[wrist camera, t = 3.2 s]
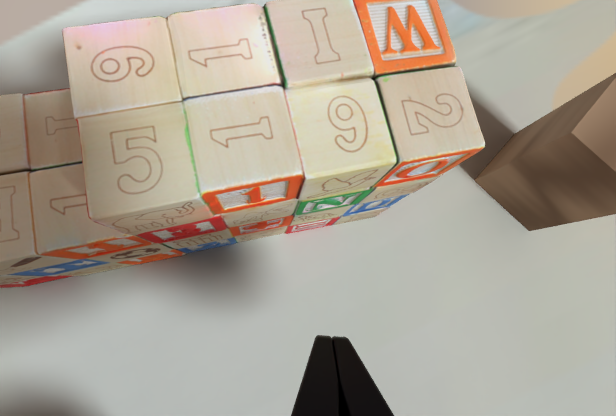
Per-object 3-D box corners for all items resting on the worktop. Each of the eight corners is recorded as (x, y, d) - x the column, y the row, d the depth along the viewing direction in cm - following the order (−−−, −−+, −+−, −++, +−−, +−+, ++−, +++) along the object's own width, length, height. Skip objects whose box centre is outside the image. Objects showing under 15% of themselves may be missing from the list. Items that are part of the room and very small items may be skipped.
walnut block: (567, 181, 25) (702, 136, 17) (529, 231, 24) (654, 206, 16) (514, 134, 25) (623, 68, 18) (474, 180, 24) (571, 132, 17)
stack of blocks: (22, 290, 20) (-349, 304, 8) (14, 186, 21) (-322, 58, 9) (377, 216, 23) (495, 145, 11) (354, 129, 24) (438, -21, 12)
